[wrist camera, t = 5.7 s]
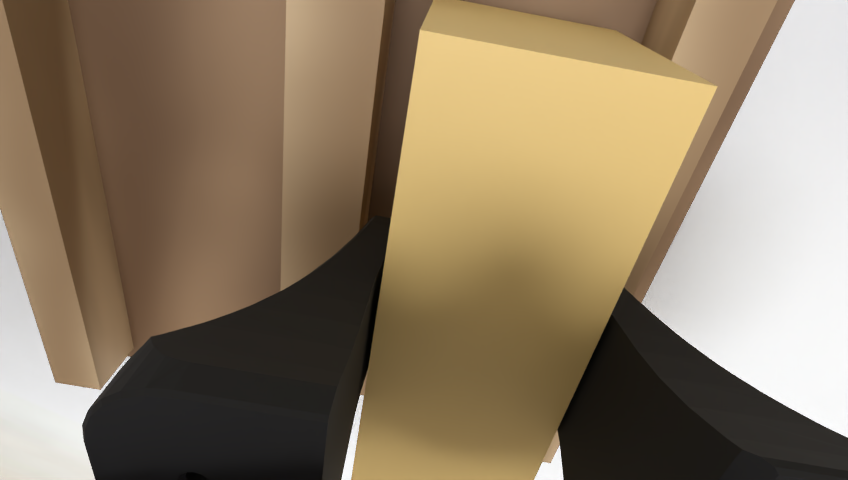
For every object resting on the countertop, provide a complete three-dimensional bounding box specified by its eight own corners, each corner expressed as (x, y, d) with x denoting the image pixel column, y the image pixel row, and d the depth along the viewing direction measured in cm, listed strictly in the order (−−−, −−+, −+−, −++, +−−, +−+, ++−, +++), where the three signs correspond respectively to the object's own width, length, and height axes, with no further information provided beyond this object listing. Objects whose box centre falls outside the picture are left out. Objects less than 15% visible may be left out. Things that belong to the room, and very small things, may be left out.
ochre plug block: (375, 366, 16) (345, 514, 12) (435, -5, 11) (420, 29, 6) (493, 385, 17) (506, 539, 12) (615, 30, 11) (717, 86, 7)
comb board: (72, 326, 19) (14, 385, 17) (-87, -269, 11) (-261, -336, 8) (571, 409, 20) (587, 478, 18) (811, -87, 11) (914, -94, 9)
